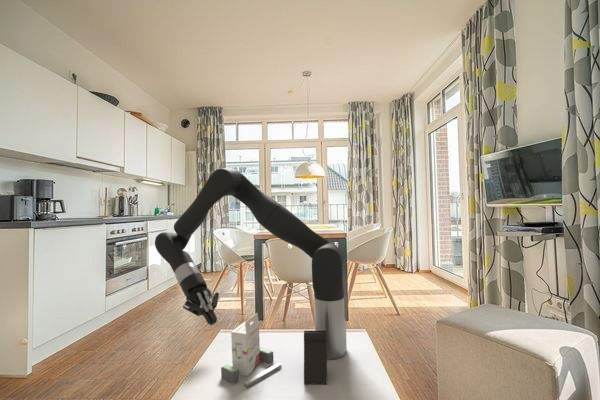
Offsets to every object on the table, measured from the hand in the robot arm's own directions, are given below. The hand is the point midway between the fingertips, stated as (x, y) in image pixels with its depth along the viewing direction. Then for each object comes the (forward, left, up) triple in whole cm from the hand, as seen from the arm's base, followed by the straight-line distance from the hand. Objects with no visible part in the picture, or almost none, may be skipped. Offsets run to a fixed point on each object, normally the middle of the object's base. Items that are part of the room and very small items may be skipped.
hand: (213, 323), depth 105 cm
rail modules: (0, +16, -10) cm, 19 cm away
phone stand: (-9, +33, -10) cm, 35 cm away
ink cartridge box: (0, +14, -10) cm, 17 cm away
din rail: (0, +22, -10) cm, 24 cm away
